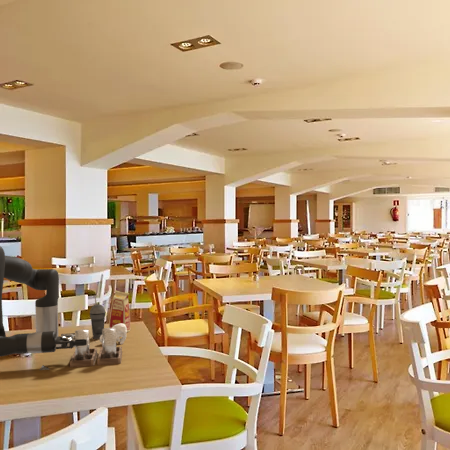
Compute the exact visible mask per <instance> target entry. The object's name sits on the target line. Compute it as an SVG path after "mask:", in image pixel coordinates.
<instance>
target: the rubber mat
mask: <svg viewBox="0 0 450 450" xmlns="http://www.w3.org/2000/svg"><path fill="white" fill-rule="evenodd" d="M46 370H50V367H48V366H45V365H44V364H42V366H41V367H40V368H39V371H46Z"/></svg>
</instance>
